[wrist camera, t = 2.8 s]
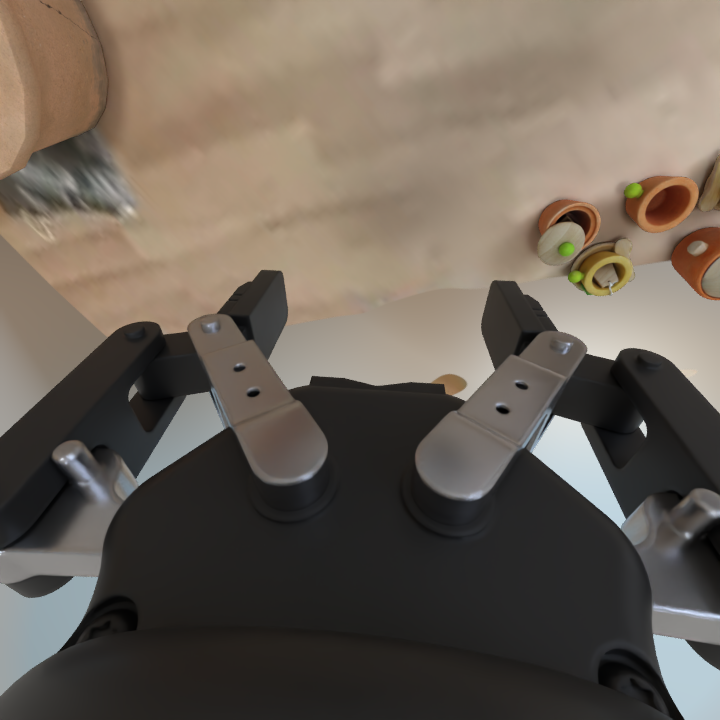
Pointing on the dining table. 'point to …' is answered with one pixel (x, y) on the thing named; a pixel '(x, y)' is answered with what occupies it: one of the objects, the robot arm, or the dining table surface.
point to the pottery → (46, 77)
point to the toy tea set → (612, 260)
